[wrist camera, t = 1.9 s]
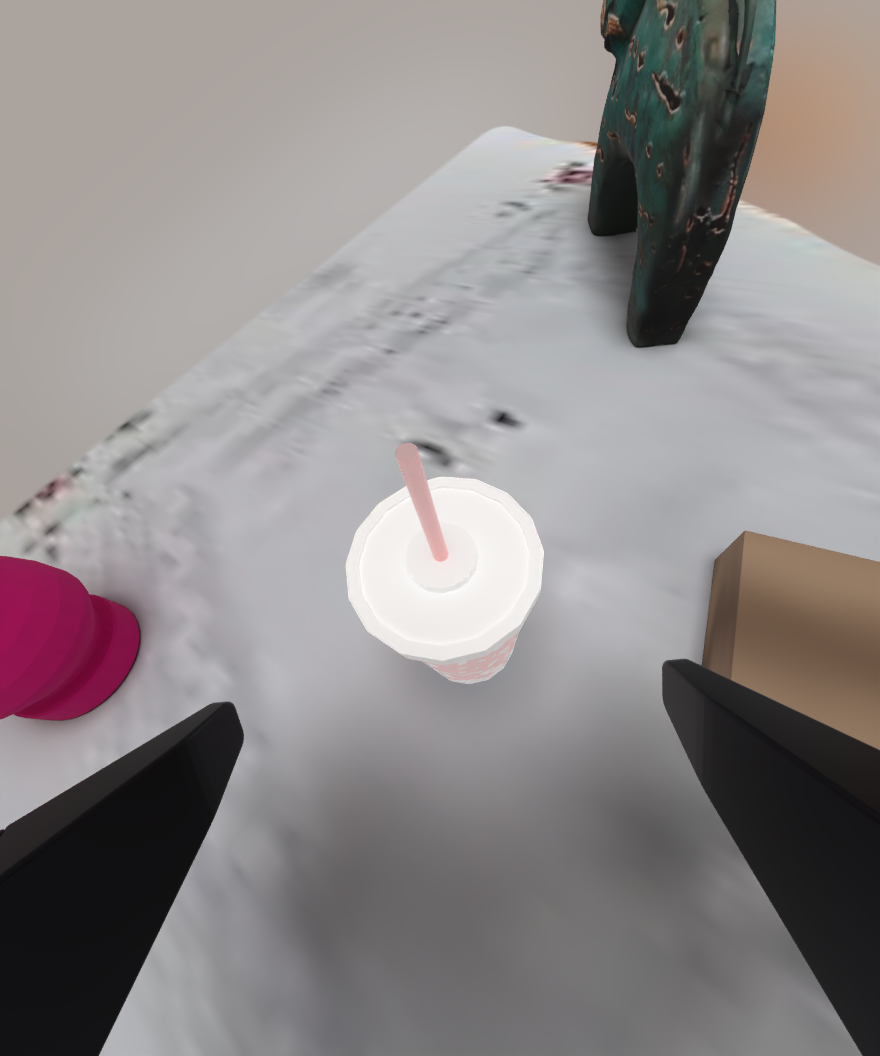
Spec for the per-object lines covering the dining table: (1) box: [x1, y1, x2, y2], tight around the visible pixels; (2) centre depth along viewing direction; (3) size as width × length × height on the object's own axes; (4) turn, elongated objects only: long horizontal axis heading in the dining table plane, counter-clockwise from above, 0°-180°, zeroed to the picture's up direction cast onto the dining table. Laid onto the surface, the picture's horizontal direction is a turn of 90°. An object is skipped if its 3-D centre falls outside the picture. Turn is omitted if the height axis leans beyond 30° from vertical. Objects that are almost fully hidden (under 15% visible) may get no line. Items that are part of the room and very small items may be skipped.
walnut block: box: [702, 531, 880, 750], centre depth 16 cm, size 9×9×3 cm
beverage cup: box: [346, 443, 544, 684], centre depth 14 cm, size 6×6×14 cm
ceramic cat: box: [588, 0, 776, 347], centre depth 24 cm, size 20×6×20 cm, turn 179°
